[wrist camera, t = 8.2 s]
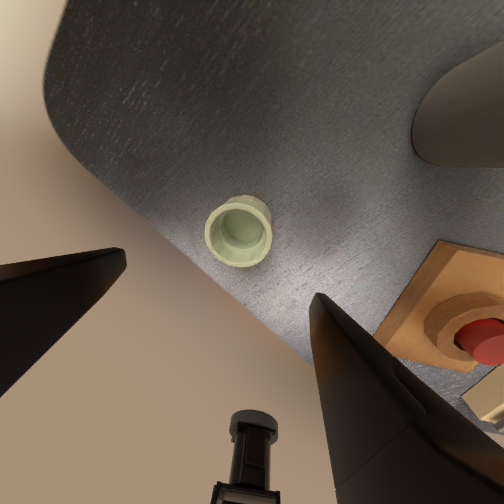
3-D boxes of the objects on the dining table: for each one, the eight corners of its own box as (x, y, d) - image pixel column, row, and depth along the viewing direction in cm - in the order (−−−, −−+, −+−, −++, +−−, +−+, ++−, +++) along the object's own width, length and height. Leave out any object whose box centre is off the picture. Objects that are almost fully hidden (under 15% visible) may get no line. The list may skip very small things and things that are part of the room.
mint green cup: (265, 251, 18) (263, 273, 14) (216, 240, 18) (202, 259, 14) (278, 200, 16) (279, 211, 12) (222, 188, 16) (207, 196, 12)
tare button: (482, 349, 16) (504, 369, 15) (445, 340, 16) (463, 359, 15) (511, 322, 15) (539, 341, 13) (470, 313, 15) (494, 331, 13)
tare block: (452, 356, 21) (483, 390, 18) (371, 338, 21) (388, 369, 18) (546, 263, 16) (615, 289, 12) (438, 240, 16) (479, 259, 13)
